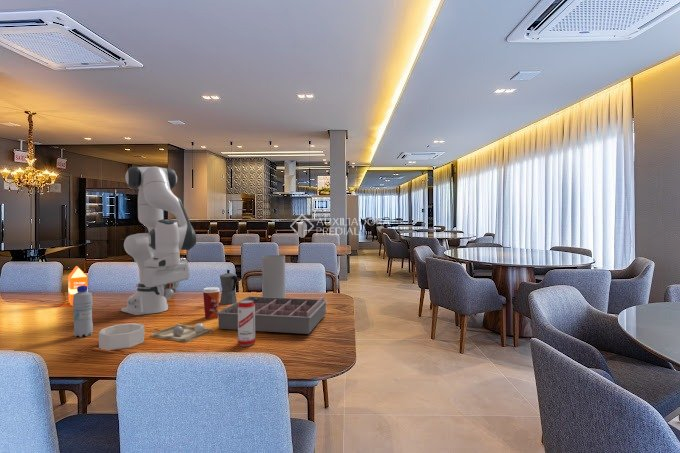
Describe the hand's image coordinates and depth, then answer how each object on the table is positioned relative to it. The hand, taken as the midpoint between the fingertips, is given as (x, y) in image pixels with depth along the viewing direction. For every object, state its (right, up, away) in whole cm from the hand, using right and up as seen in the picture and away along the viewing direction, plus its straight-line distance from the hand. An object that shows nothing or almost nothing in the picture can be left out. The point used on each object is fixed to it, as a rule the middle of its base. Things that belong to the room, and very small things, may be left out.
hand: (168, 294), depth 150 cm
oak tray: (+6, -16, -1) cm, 17 cm away
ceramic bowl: (-12, -16, -11) cm, 23 cm away
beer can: (+34, -17, -11) cm, 40 cm away
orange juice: (-73, -15, +54) cm, 92 cm away
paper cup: (+9, -16, +24) cm, 30 cm away
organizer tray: (+41, -16, +16) cm, 46 cm away
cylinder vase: (+32, -15, +59) cm, 69 cm away
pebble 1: (0, -2, 0) cm, 2 cm away
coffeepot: (+9, -15, +54) cm, 57 cm away
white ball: (+13, -16, 0) cm, 20 cm away
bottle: (-33, -16, -1) cm, 37 cm away
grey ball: (+6, -16, -4) cm, 17 cm away
